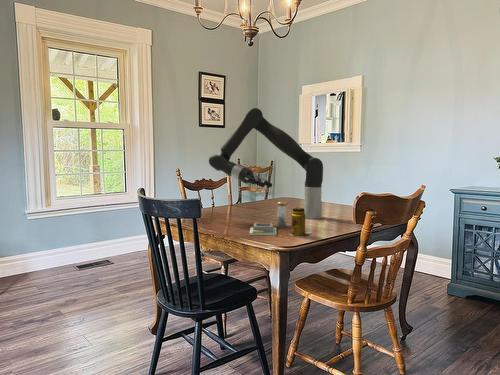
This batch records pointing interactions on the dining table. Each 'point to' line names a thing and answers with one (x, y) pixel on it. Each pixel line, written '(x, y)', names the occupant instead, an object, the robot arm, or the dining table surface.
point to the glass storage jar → (281, 214)
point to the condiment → (298, 223)
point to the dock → (263, 229)
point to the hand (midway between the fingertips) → (268, 185)
